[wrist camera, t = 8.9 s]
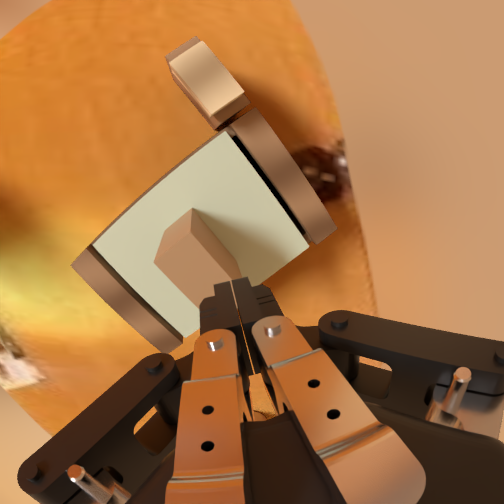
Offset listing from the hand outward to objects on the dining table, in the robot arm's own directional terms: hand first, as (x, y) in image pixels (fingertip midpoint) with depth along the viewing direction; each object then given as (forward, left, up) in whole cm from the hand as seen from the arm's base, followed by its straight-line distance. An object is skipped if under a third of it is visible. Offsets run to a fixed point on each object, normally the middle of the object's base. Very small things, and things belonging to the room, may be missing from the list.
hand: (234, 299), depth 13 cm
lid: (-1, +2, -15) cm, 15 cm away
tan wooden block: (+10, -6, -12) cm, 17 cm away
